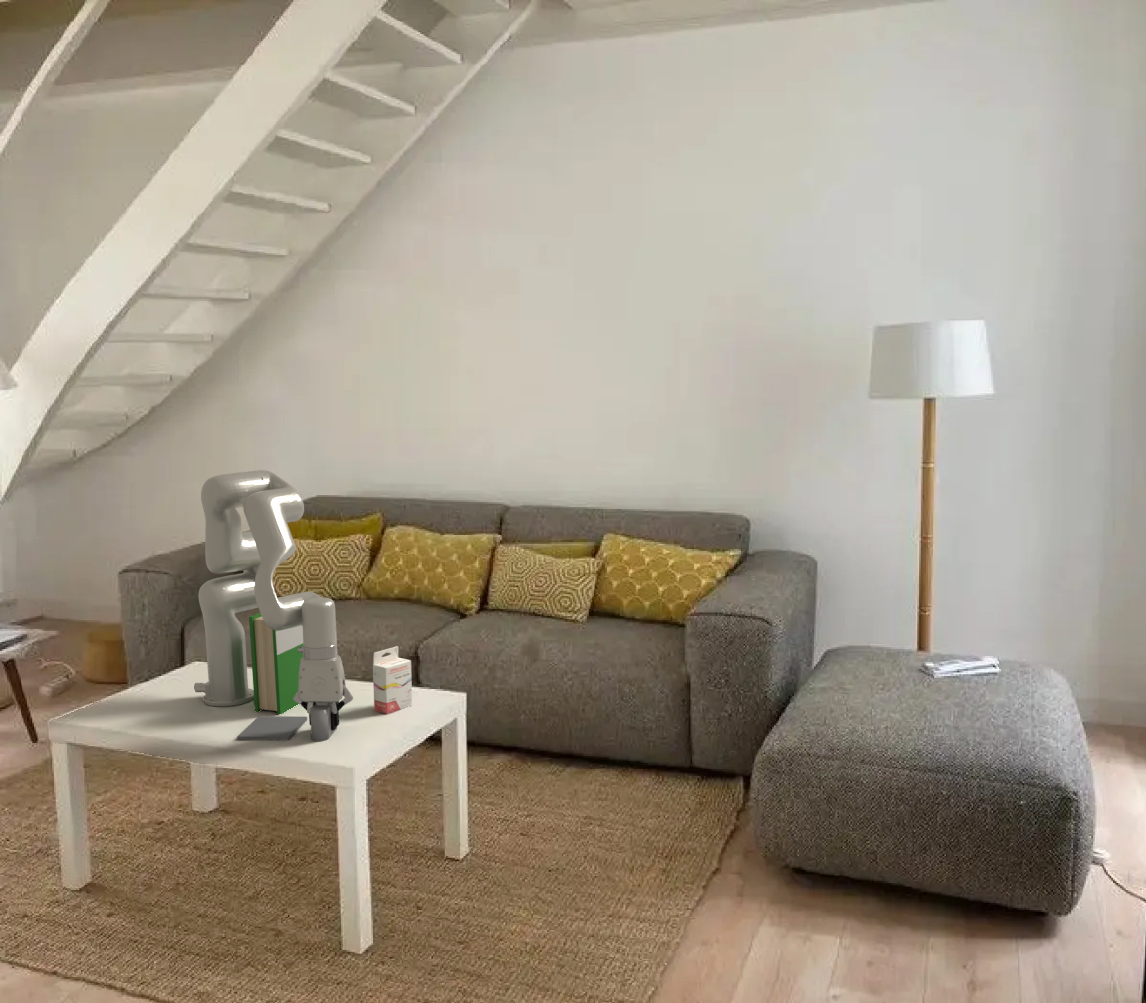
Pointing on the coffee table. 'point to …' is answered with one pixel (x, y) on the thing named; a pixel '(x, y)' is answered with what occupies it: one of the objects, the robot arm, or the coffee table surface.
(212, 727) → the coffee table surface
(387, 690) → the ink cartridge box
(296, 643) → the hardback book
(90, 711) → the coffee table surface
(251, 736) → the charcoal mat
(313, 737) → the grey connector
